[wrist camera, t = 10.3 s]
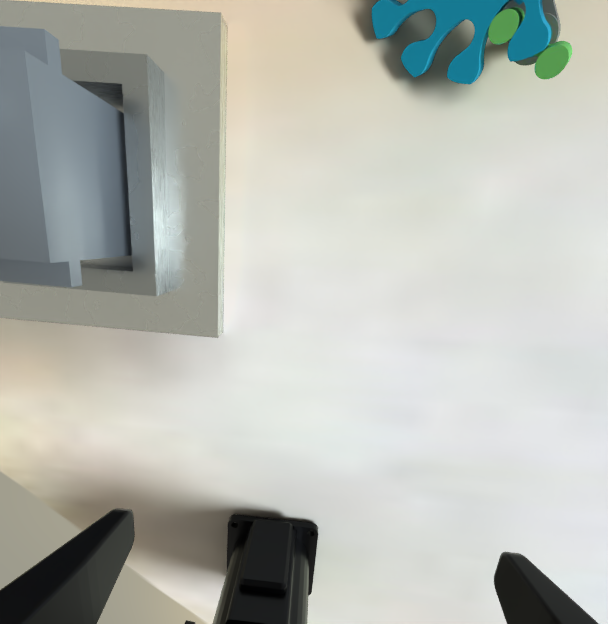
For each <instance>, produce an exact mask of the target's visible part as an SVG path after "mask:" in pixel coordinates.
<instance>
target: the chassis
mask: <svg viewBox="0 0 608 624" xmlns="http://www.w3.org/2000/svg"><path fill="white" fill-rule="evenodd" d="M0 26H6V27H22V28H37V29H45V30H46V31H48V32H49V33H50V34H52V35H53V36H54V37H56V38H57V39H58V40H59V48H60V59H61V69H62V74H63V75H64V76H66V77H67V78H69V79H70V80H72V81H74V82H75V83H77V84H78V85H80V86H81V87H83V88H85V89H86V90H88V91H89V92H91V93H93V94H94V95H96V96H97V97H99V98H100V99H102V100H104V101H105V102H107V103H108V104H110V105H111V106H113V107H115V108H116V109H118V110H119V111H121V112H123V113H124V126H125V143H126V160H127V177H128V194H129V212H130V229H131V246H132V255H131V256H120V257H110V258H99V259H89V260H80V266H81V276H82V285H81V286H76V287H61V286H50V285H39V284H29V283H18V282H7V281H0V318H9V319H20V320H31V321H42V322H53V323H63V324H74V325H85V326H96V327H107V328H118V329H128V330H139V331H150V332H161V333H172V334H183V335H193V336H204V337H215V338H218V337H219V336H220V335H221V334H222V333H223V294H224V224H225V155H226V85H227V25H226V23H225V21H224V19H223V16H222V14H221V13H217V12H200V11H183V10H165V9H148V8H131V7H114V6H97V5H80V4H63V3H45V2H28V1H11V0H0Z"/></svg>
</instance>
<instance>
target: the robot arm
mask: <svg viewBox="0 0 608 624" xmlns="http://www.w3.org/2000/svg"><path fill="white" fill-rule="evenodd" d="M235 522H236V523H235ZM134 535H135V534H134V520H133V512H132V511H131V510H128V509H119V508H118V509H114V510H112V511H110V512H109V513H107V514H106V515H105V516H103V517H102V518H100V519H99V520H98V521H96V522H95V523H93V524H92V525H91V526H89V527H88V528H86V529H85V530H84V531H82V532H81V533H79V534H78V535H77V536H75V537H74V538H72V539H71V540H70V541H68V542H67V543H65V544H64V545H63V546H62V547H60V548H58V549H57V550H56V551H54V552H53V553H52V554H50V555H49V556H47V557H46V558H44V559H43V560H42V561H40V562H39V563H37V564H36V565H35V566H33V567H32V568H30V569H29V570H28V571H26V572H25V573H24V574H22V575H21V576H19V577H18V578H16V579H15V580H14V581H12V582H11V583H9V584H8V585H7V586H5V587H4V588H2V589H1V590H0V624H97V622H98V619H99V617H100V615H101V613H102V611H103V609H104V607H105V604H106V602H107V600H108V598H109V596H110V593H111V591H112V589H113V587H114V585H115V583H116V580H117V578H118V576H119V574H120V572H121V569H122V567H123V565H124V563H125V561H126V559H127V556H128V554H129V552H130V550H131V548H132V545H133V542H134ZM317 539H318V527H317V525H316V524H314V523H308V522H298V521H289V520H280V519H271V518H262V517H253V516H244V515H232V516H231V517H230V519H229V522H228V544H227V574H226V578H225V581H224V585H223V588H222V592H221V596H220V599H219V603H218V606H217V610H216V614H215V617H214V621H213V624H307V615H308V595H310V594H311V592H312V583H313V574H314V565H315V557H316V548H317ZM494 585H495V589H496V592H497V595H498V598H499V601H500V604H501V607H502V610H503V613H504V616H505V619H506V622H507V624H598V623H597V622H596V621H595V620H594V619H593V618H592V617H591V616H590V615H589V614H587V613H586V612H585V611H584V610H583V609H582V608H581V607H580V606H579V605H578V604H576V603H575V602H574V601H573V600H572V599H571V598H570V597H569V596H568V595H567V594H565V593H564V592H563V591H562V590H561V589H560V588H559V587H558V586H557V585H556V584H554V583H553V582H552V581H551V580H550V579H549V578H548V577H547V576H546V575H545V574H543V573H542V572H541V571H540V570H539V569H538V568H537V567H536V566H535V565H534V564H532V563H531V562H530V561H529V560H528V559H527V558H526V557H524V556H523V555H521V554H519V553H511V552H503V553H502V554H501V556H500V559H499V562H498V565H497V569H496V572H495V575H494ZM185 624H195V622H191V621H186V622H185Z"/></svg>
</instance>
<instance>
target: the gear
mask: <svg viewBox="0 0 608 624" xmlns="http://www.w3.org/2000/svg"><path fill="white" fill-rule="evenodd" d="M425 9H431V10H432V11H433V12H434V13H435V16H436V26H435V29H434V32H433V33H432V35H431V36H430V37H429V38H428V39H425V40H420V41H417V42H414V43H411V44H409V45H408V46H407V47H406V48H405V50H404V51H403V53H402V56H401V60H402V63H403V65H404V67H405V68H406V69H407V71H408V72H409V73H410V74H411V75H412V76H413V77H414V78H415V77H417V76H419V75H421V74H423V73H425V72H426V71H427V70H428V69H429V68H430V66H431V64H432V62H433V59H434V56H435V54H436V51H437V49H438V47H439V46H440V44H441V43H442V41H443V40H444V38H445V37H446V36H447V35H448V34H449V33H450V32H451V31H452V30H453V29H454V28H455V27H456V26H457V25H459V24H460V23H461V22H462V21H464V20H465V19H468V20H470V21H472V23H473V24H474V27H475V34H474V38H473V40H472V42H471V44H470V45H469V46H468V47H467V48H466V49H465V50H464V51H462V52H461V53H460V54H458V55H457V56H456V57H455V58H454V59H453V60H452V62H451V63H450V65H449V68H448V72H447V78H449V79H450V80H451V81H454V82H456V83H461V84H471V83H473V82H474V81H476V80H477V78H478V77H479V76H480V74H481V73H482V70H483V67H484V51H485V46H486V42H487V38H488V36H489V39H490V41H491V42H492V43H494V44H503V43H505V42H507V41H508V43H509V45H508V58H509V60H510V62H511V61H514V62H516V63H517V64H519V65H530V64H533V63H536V64H535V73H536V75H537V76H538V77H539V78H541V79H550V78H553V77H555V76H556V75H558V74H559V73H560V72H561V71H562V70H563V69H564V68H565V66H566V65H567V63H568V62H569V60H570V58H571V55H572V47H571V45H570V44H569V43H568V42H565V41H559V42H557V40H558V37H559V34H560V20H559V17H558V13H557V9H556V5H555V1H554V0H408V1H407V2H406V3H405V4H401V3H400V2H398V1H397V0H380V1H378V2H377V3H376V4H375V5H374V6H373V8H372V23H373V28H374V31H375V35H376V38H378V39H381V38H386V37H390V36H392V35H393V34H394V33H395V32H396V31H397V30H398V29H399V27H400V26H401V24H402V23H403V22H404V21H405V20H406V19H407V18H409V17H410V16H411V15H413V14H414V13H416V12H418V11H421V10H425Z"/></svg>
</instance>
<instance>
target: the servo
mask: <svg viewBox="0 0 608 624" xmlns="http://www.w3.org/2000/svg"><path fill="white" fill-rule="evenodd" d="M131 255H132V246H131V229H130V212H129V194H128V177H127V160H126V143H125V126H124V113H123V112H121V111H119V110H118V109H116V108H115V107H113V106H111V105H110V104H108V103H107V102H105V101H104V100H102V99H100V98H99V97H97V96H96V95H94V94H93V93H91V92H89V91H88V90H86V89H85V88H83V87H81V86H80V85H78V84H77V83H75V82H74V81H72V80H70V79H69V78H67V77H66V76H64V75H63V74H62V69H61V59H60V48H59V40H58V39H57V38H56V37H54V36H53V35H52V34H50V33H49V32H48V31H46V30H45V29H37V28H22V27H6V26H0V281H7V282H18V283H29V284H39V285H50V286H61V287H76V286H81V285H82V276H81V266H80V260H89V259H99V258H110V257H120V256H131Z"/></svg>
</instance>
